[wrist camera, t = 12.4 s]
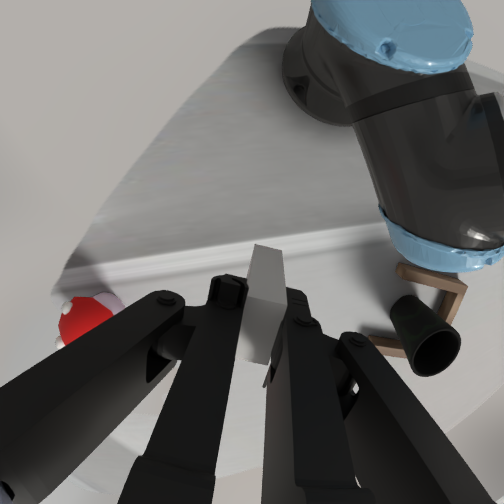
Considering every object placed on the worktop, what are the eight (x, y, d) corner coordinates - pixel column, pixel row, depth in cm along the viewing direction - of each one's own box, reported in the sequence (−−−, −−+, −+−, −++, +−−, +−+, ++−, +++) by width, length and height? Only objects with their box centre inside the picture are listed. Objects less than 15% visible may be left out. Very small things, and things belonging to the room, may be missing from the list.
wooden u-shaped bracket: (398, 262, 42) (406, 269, 39) (458, 279, 42) (468, 286, 39) (365, 342, 46) (370, 353, 43) (425, 351, 46) (431, 361, 43)
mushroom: (73, 300, 47) (34, 334, 35) (107, 265, 44) (65, 297, 33) (113, 346, 49) (83, 387, 38) (151, 316, 47) (121, 360, 35)
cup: (419, 280, 42) (456, 317, 31) (431, 316, 44) (464, 357, 32) (377, 304, 44) (404, 349, 32) (391, 339, 45) (417, 386, 34)
